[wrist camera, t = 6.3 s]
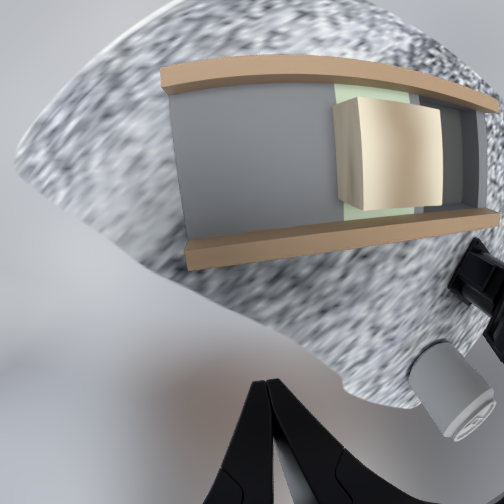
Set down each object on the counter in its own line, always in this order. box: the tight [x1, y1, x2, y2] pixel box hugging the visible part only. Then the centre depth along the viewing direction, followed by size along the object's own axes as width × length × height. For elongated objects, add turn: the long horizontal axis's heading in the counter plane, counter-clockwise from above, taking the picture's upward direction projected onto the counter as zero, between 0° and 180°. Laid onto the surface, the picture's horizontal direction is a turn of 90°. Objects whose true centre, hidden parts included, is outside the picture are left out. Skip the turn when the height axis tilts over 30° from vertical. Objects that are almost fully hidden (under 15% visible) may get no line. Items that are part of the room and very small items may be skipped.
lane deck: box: [160, 55, 500, 271], centre depth 16 cm, size 26×12×4 cm, turn 96°
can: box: [408, 342, 496, 441], centre depth 22 cm, size 8×8×12 cm
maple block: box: [332, 97, 443, 211], centre depth 14 cm, size 6×6×4 cm
